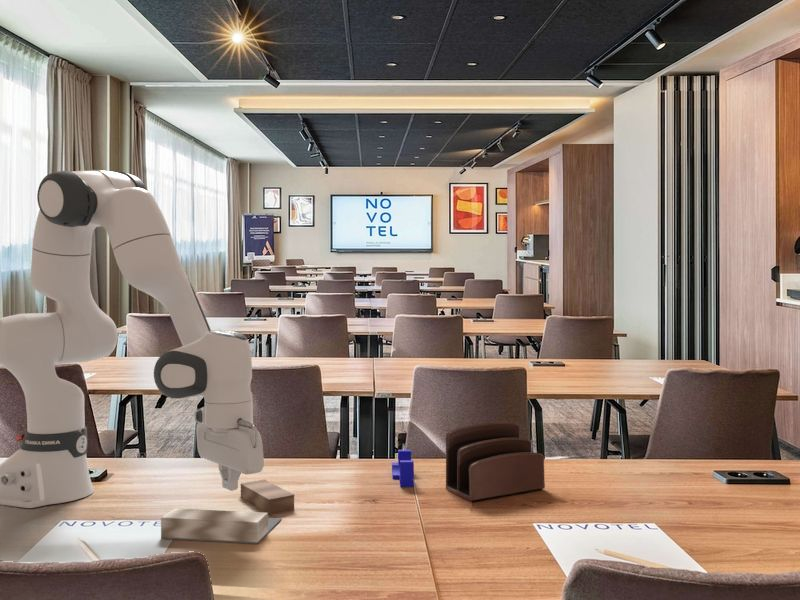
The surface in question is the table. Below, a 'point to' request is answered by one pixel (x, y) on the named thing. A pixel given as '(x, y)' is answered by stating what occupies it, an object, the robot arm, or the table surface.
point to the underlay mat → (271, 524)
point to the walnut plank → (267, 497)
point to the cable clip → (404, 469)
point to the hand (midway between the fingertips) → (230, 488)
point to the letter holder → (491, 461)
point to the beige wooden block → (214, 525)
